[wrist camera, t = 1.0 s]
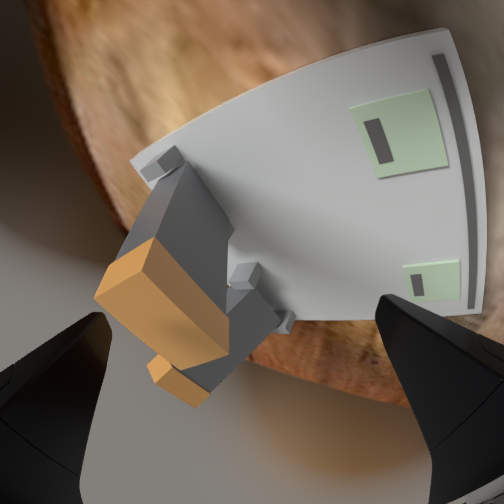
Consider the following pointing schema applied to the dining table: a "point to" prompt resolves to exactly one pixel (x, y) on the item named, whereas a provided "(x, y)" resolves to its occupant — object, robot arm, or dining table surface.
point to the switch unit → (347, 182)
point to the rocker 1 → (174, 273)
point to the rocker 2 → (240, 346)
